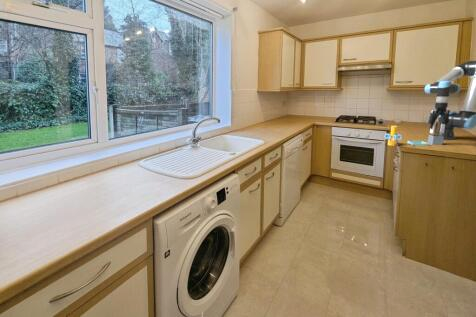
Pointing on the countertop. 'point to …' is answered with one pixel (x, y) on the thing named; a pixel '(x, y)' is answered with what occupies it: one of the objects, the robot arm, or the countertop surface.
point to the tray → (418, 143)
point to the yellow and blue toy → (393, 136)
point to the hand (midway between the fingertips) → (436, 132)
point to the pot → (435, 140)
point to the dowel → (437, 128)
